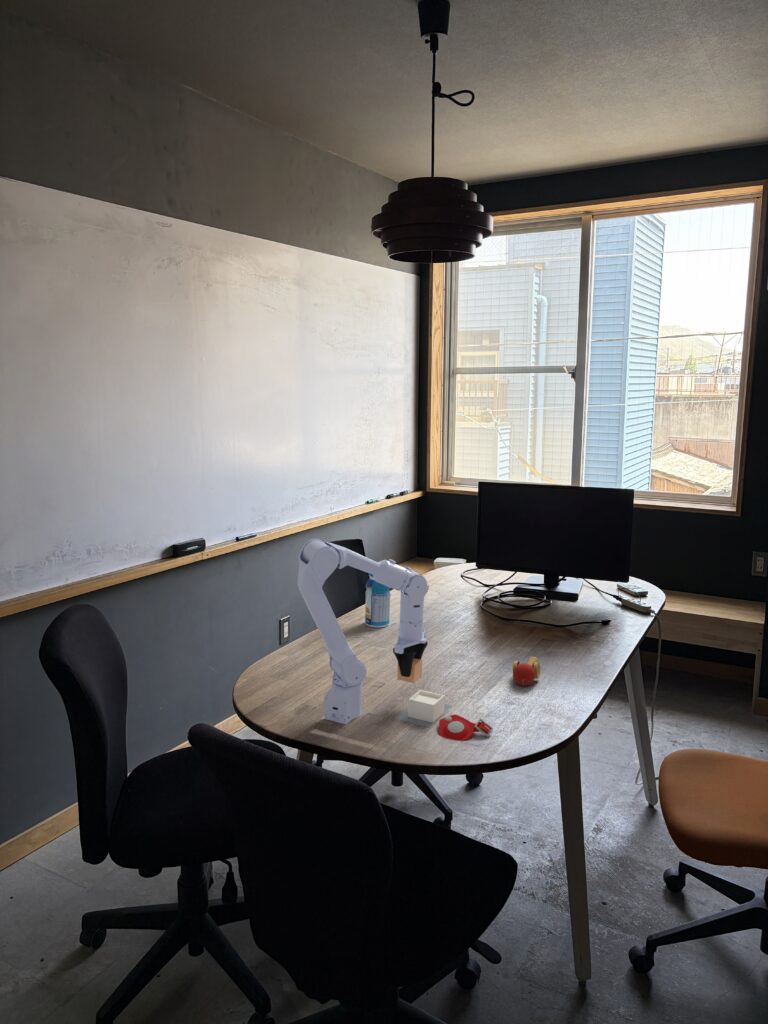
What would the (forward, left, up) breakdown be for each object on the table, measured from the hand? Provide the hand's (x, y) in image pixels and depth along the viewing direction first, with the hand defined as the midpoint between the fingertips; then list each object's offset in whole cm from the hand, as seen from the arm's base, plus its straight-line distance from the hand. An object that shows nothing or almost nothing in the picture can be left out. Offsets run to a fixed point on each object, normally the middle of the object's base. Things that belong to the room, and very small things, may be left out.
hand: (409, 672), depth 188 cm
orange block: (0, 0, -2) cm, 2 cm away
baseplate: (-3, -5, -9) cm, 11 cm away
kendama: (+35, -20, -9) cm, 42 cm away
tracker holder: (-8, -18, -10) cm, 22 cm away
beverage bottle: (+54, +38, -9) cm, 67 cm away
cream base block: (-4, -6, -8) cm, 11 cm away
